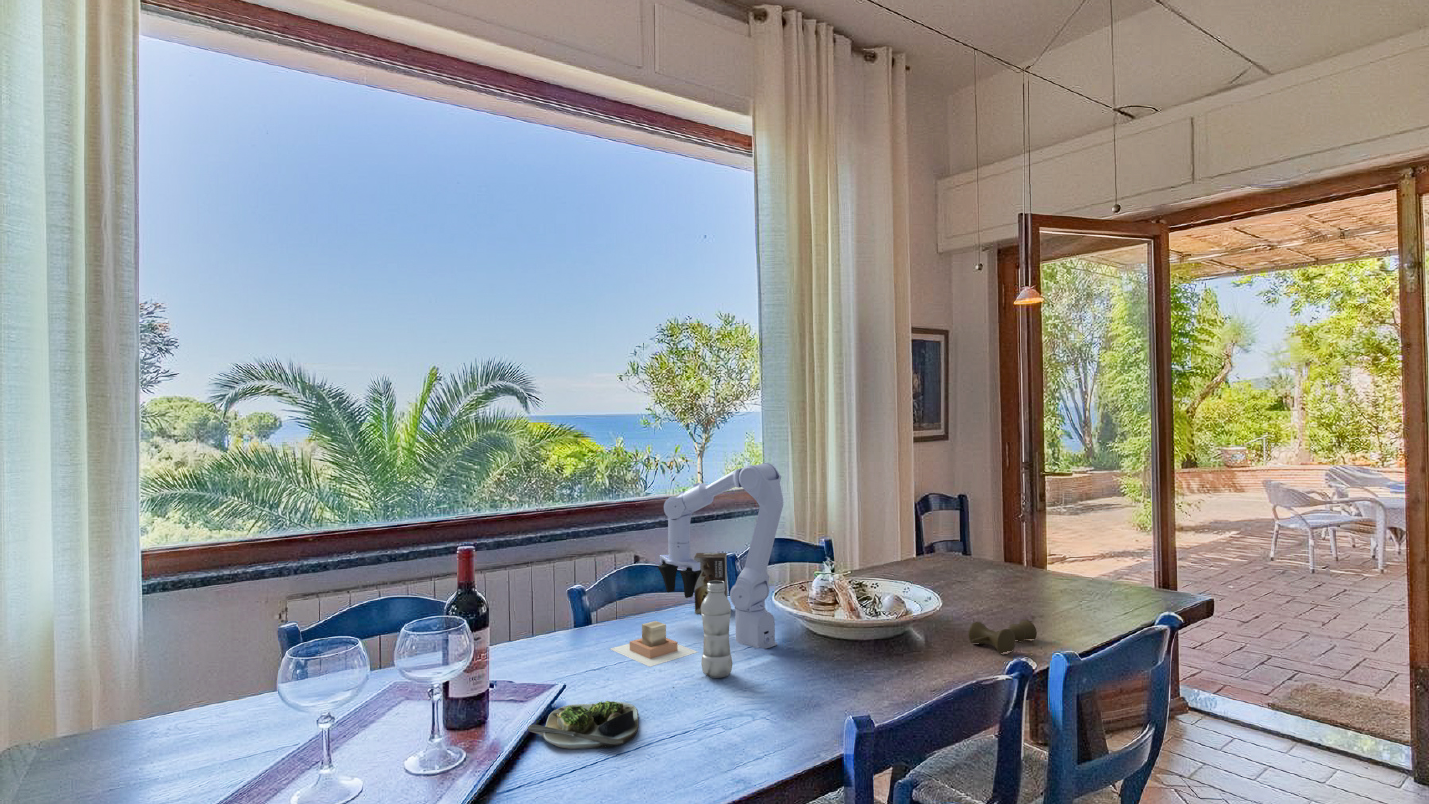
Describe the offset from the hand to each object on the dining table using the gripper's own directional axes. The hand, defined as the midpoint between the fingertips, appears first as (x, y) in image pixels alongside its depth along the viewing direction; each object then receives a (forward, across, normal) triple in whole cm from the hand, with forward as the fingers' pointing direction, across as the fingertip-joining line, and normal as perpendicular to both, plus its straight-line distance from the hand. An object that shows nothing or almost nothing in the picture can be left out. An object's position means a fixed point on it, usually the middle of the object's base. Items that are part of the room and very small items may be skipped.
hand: (679, 594), depth 181 cm
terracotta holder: (+8, +10, -16) cm, 21 cm away
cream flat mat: (+9, +10, -16) cm, 21 cm away
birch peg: (+8, +10, -16) cm, 20 cm away
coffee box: (+10, -8, +18) cm, 22 cm away
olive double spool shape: (+10, +62, +49) cm, 80 cm away
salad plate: (+10, +34, -47) cm, 59 cm away
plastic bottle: (+10, +30, -14) cm, 34 cm away
